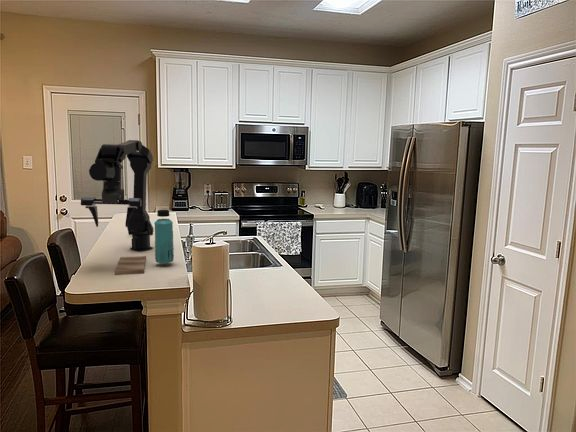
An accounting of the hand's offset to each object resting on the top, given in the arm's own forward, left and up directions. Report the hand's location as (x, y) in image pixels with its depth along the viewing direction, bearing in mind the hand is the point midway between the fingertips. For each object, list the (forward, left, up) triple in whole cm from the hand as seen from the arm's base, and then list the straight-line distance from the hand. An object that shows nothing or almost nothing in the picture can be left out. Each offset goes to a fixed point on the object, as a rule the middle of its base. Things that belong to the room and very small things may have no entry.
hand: (111, 226), depth 145 cm
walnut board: (-4, +4, -14) cm, 15 cm away
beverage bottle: (-12, +12, -14) cm, 22 cm away
